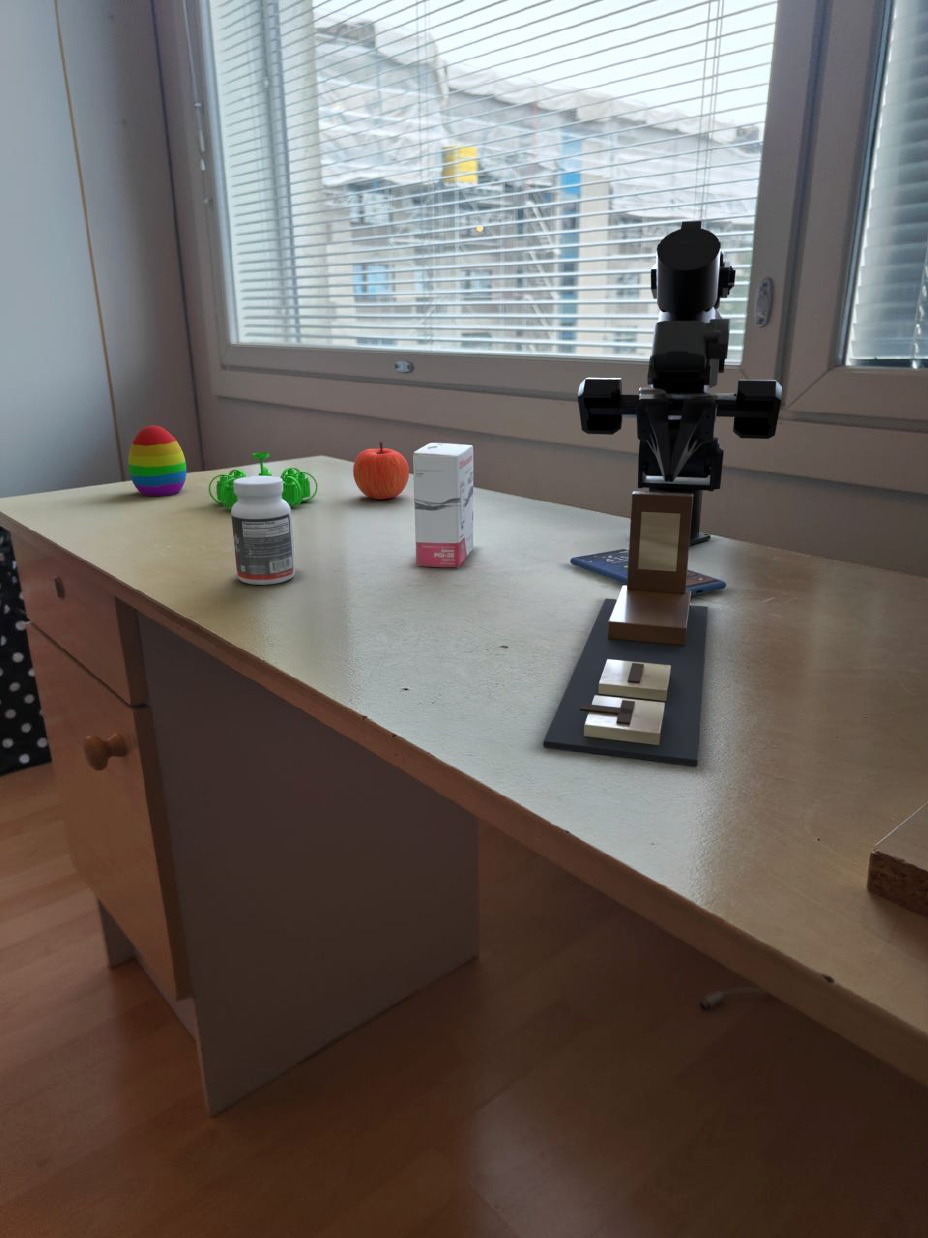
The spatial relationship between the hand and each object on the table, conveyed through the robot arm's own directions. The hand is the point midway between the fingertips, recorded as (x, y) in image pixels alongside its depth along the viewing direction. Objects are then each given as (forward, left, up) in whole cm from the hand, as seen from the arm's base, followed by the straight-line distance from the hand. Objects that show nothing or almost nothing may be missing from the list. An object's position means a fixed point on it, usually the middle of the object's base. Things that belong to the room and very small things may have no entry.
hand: (668, 479), depth 80 cm
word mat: (+19, +11, -10) cm, 24 cm away
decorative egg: (+13, -80, -10) cm, 82 cm away
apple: (-8, -53, -10) cm, 55 cm away
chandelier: (+6, -62, -10) cm, 63 cm away
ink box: (+8, -22, -10) cm, 26 cm away
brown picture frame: (+11, +6, -10) cm, 16 cm away
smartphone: (-1, -2, -10) cm, 11 cm away
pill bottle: (+26, -29, -10) cm, 40 cm away
